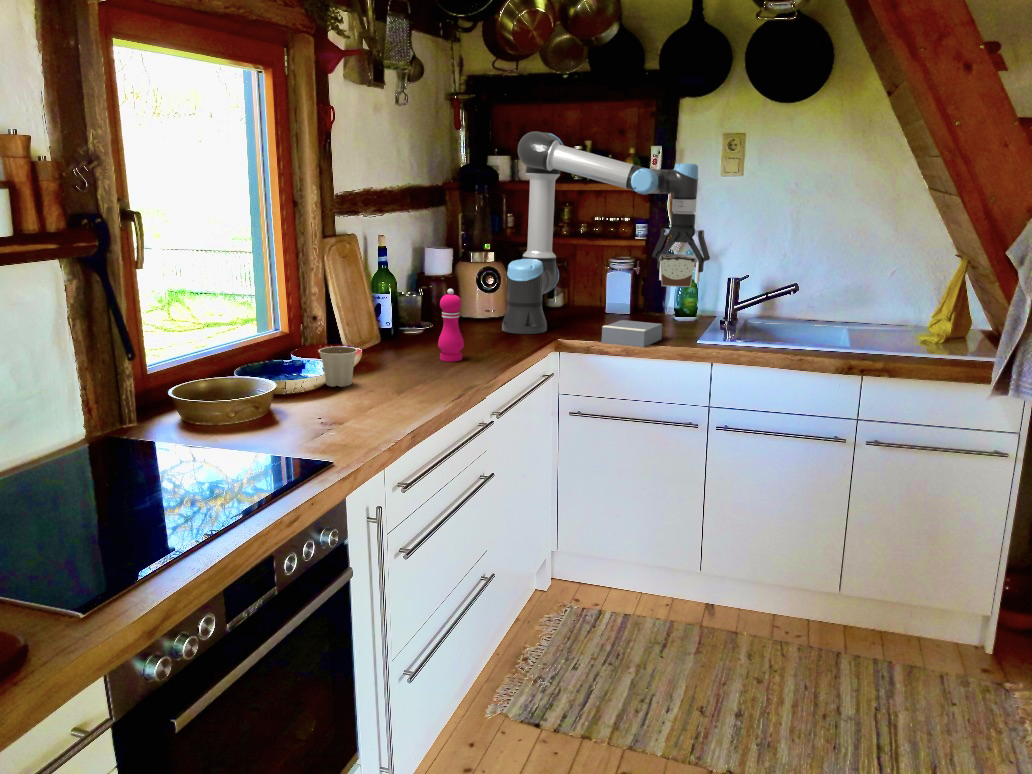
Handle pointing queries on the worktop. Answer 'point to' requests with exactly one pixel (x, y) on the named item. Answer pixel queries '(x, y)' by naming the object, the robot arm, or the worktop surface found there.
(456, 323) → the pepper mill
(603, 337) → the block
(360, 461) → the worktop surface
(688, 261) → the food container
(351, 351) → the flower pot
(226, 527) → the worktop surface
